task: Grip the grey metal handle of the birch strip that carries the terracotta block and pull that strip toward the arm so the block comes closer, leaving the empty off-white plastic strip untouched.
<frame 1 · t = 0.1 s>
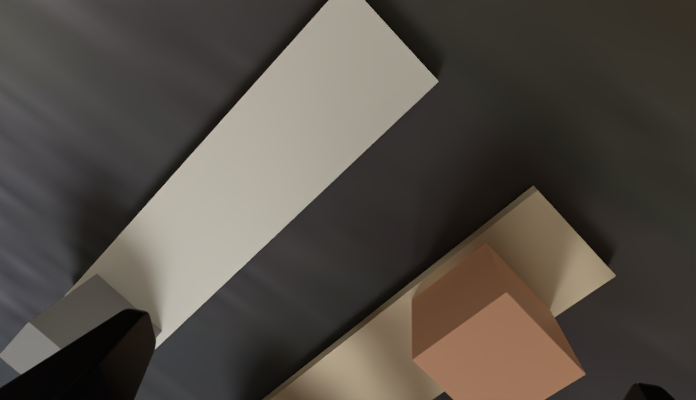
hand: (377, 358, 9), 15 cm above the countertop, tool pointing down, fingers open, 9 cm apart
terracotta block: (479, 304, 24), point 1 cm above the countertop, touching birch strip
birch strip: (394, 392, 24), point 3 cm above the countertop, slide at 0.0 cm, touching terracotta block
plastic strip: (209, 217, 22), point 3 cm above the countertop, slide at 0.0 cm
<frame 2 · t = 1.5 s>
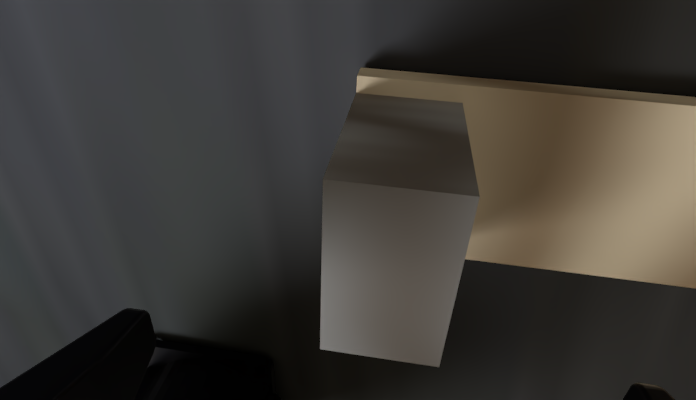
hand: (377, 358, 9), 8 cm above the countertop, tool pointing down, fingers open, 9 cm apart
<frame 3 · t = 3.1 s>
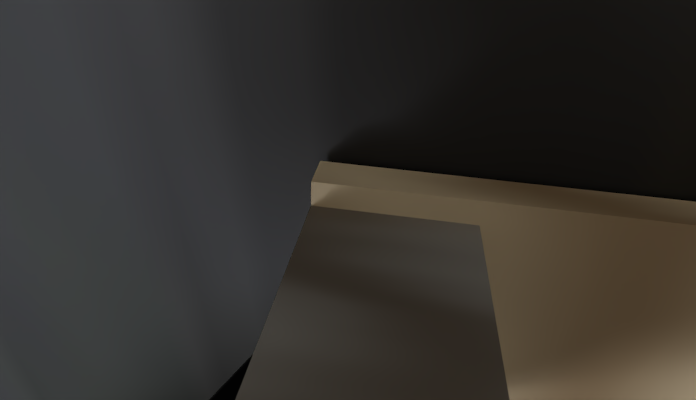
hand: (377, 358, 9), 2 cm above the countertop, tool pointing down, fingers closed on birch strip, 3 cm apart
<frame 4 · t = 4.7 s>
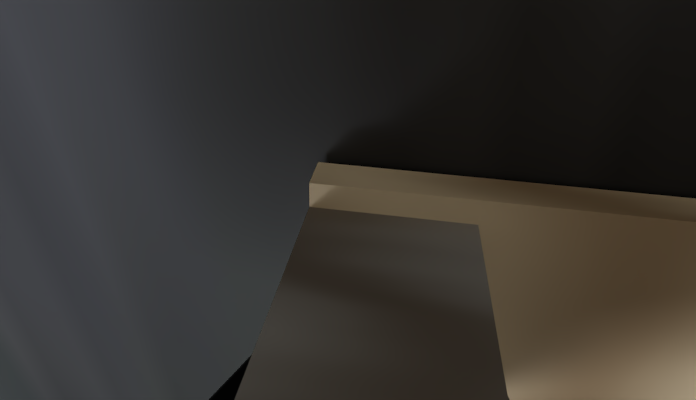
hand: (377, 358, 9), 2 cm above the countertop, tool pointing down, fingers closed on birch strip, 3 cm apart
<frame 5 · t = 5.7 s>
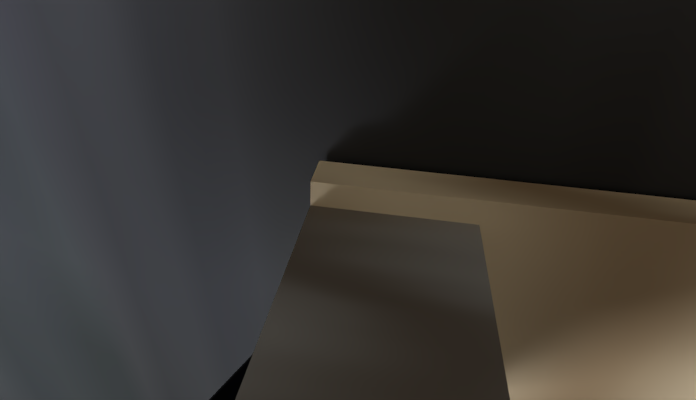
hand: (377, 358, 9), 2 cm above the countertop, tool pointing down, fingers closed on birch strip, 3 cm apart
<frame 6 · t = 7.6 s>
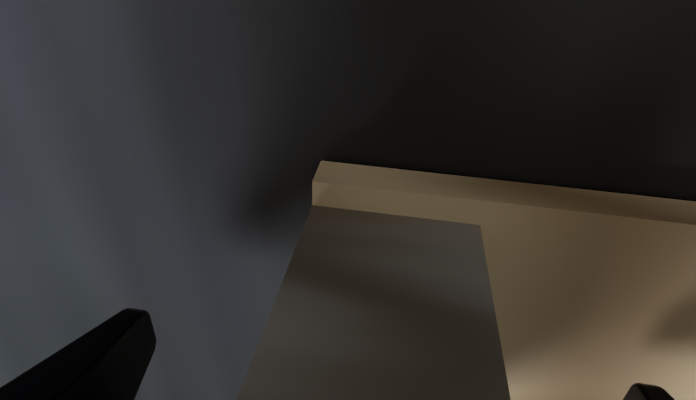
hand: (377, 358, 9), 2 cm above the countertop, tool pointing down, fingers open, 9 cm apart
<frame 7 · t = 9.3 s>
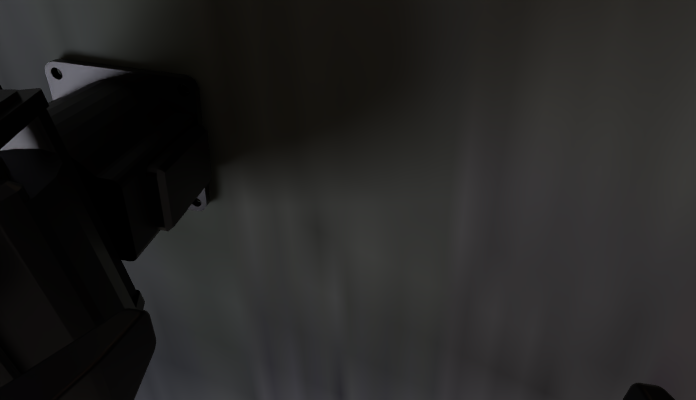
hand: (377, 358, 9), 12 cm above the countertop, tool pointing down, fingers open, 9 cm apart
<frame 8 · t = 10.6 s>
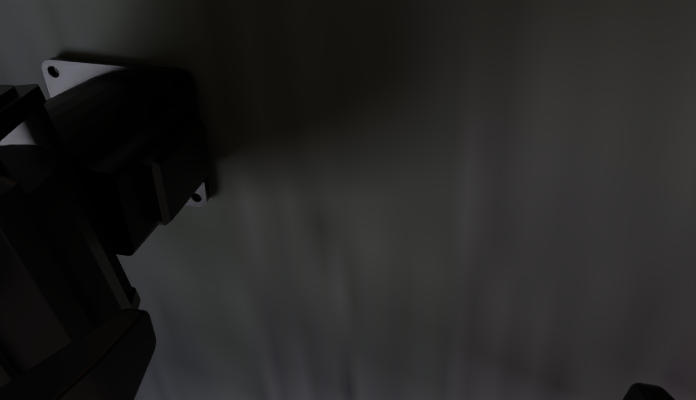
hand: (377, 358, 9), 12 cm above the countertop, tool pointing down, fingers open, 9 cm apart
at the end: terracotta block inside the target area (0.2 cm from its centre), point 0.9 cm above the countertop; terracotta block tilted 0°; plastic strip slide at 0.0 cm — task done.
